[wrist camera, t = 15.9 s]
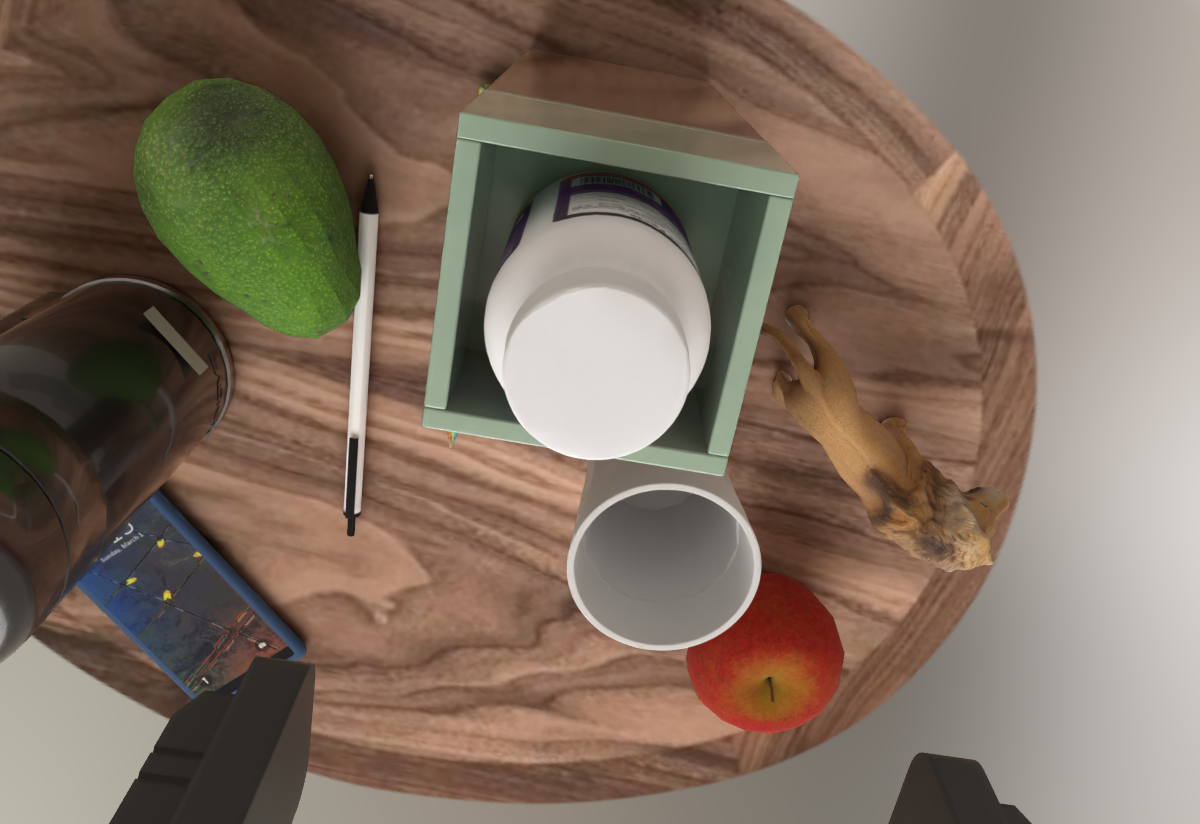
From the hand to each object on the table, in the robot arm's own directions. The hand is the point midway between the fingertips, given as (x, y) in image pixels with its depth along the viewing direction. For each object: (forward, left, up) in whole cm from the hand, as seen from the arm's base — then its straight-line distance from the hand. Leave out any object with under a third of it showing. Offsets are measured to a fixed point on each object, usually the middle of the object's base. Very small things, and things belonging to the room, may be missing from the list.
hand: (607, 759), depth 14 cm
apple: (+12, -21, -38) cm, 45 cm away
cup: (+5, -12, -38) cm, 40 cm away
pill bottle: (-1, +2, -19) cm, 19 cm away
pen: (-11, -10, -38) cm, 41 cm away
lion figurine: (+14, -8, -38) cm, 41 cm away
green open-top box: (-1, +2, -38) cm, 38 cm away
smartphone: (-14, -31, -37) cm, 50 cm away
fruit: (-18, +2, -32) cm, 37 cm away
